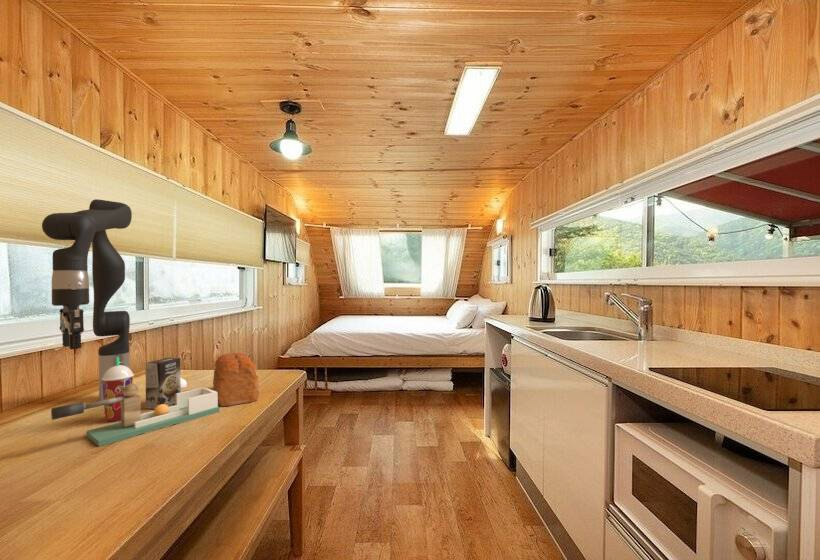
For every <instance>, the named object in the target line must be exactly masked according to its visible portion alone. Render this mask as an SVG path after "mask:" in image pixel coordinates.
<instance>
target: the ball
mask: <svg viewBox="0 0 820 560" xmlns="http://www.w3.org/2000/svg"><path fill="white" fill-rule="evenodd" d="M169 407H170V406H167V405H165V404H161V405H158V406H157V407H156V408H155V409H153V411H154V415H155V416H160V415H164V414H167V413H168V412H169Z"/></svg>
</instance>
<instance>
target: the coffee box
mask: <svg viewBox="0 0 820 560" xmlns="http://www.w3.org/2000/svg"><path fill="white" fill-rule="evenodd" d="M180 377H181V358H180V357H164V358H161V359H157V360H152V361H147V362H145V409H150V410H151V409H152V410H155V408H156V407H157V406H158V405H161V404H165V405H167V406H168V407H171V406H173V405H176V394H177V393H181V392H182V391H181V390H182V389H181V382H180Z"/></svg>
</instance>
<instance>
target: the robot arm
mask: <svg viewBox="0 0 820 560" xmlns="http://www.w3.org/2000/svg"><path fill="white" fill-rule="evenodd" d="M132 215H133V213H132V209H131V207H130V206H129V205H128V204H126V203H123V202H118V201H114V200H113V201H112V200H104V199H93V200H92V201H91V202H90V203H89V207H88V209H83V210H82V209H81V210H79V211H76V212H56V213H51V214H48V215H46V216H45V217H44V219H43V220H42V223H41V228H42V231H43V233H44V234H45V236H47V237H48V238H50V239H52V240H54V241H55V240H56V241H74V242H73V244H72V245H70V246H68V247H64V248H58V249H55V250H53V251H52V256H51V257H52V276H51V305H52V306H54V307H59V306H60V307H63V308H60V310H59V331H60V333H61V334H62V336H61V337H62V338H61V339H62V346H63V347H64V348H65V347H68V348H69V349H70V350H77V349H81V348H82V334H83V333H84V331H85V327H84V309H83V308H82V309H80V306H84V305H89V304H90V278H89V272H88V270H89V269H88V267H89V266H88V256H89V252H90V247H91V248H92V254H91V255H92V257H91V258H92V261H91V263H92V266H91V268H92V269H91V270H92V271H91V274H92V276H91V277H92V286H93V287H92V288H93V311H92V331H93V334H94V335H95V336H96V337H111V336H118V338H116V340H115V339H114V340H113V341H112V342H110V343H107V344H104V345H102V346H99V348H98V351H97V352H98V355H97V356H98V401H103V400H104V398H103V388H102V380H101V379H102V378H103V376H104V374H105V373H106V371H107V370H108V369H110V368H111V367H113V366H116V365H117V357H119V365H123V366H126V367H128V368H130V328H131V327H130V325H131V324H130V323H131V321H130V320H131V318H130V314H129V312H128V311H126V310H115V311H114V310H113V311H112V310H111V311H105V310H106V307H107V305H108V303H109V301H110V300H111V299H112V298H113V296H114V295H115V294H116V293H117V292H118V291H119V289H120V288H121V287H122V286H123V284H124V283H125V280H126V262H125V260H124V259H123V257H122V256H121V254H120V253H119V252H118V251H117V249H116V248H115V246H113V244H112V243H111V241H110V239H109V237H108V234H107V230H112V229H117V230H121V229H124V230H125V229H126V228H128V227H129V226H130V225H131V222H132ZM130 369H131V368H130Z"/></svg>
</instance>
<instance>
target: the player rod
mask: <svg viewBox="0 0 820 560" xmlns="http://www.w3.org/2000/svg"><path fill="white" fill-rule="evenodd" d="M138 391H139V387H138V386H137V384H135V383H133V384H129V385H127V386H125V387H124V389H123V393H124V395H125V396H121V397H117V398H112V399H107V400H103V401H99V400H98V401H94V402H90V403H89V402H88V403H85V404H84V402H83V401H80V402H75V403H71V404H66V405H61V406H57V407H52V408H51V410H50V413H51V414H50V416H51V420H52V421H54V420H57V419H58V420H59V419H62V418H68V417H72V416H75V415H80V414H83V413H84V412H85V411H86V410H89V409H94V408H98V407H104V405H108V404H112V403H117V402H121V421H120V422H121V425H122V426H124V427H127V426H131V425H134V422H137V421H141V414H142V404H141V401H142V400H141V398H142V397H141V395H139V394H137V393H138Z"/></svg>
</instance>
